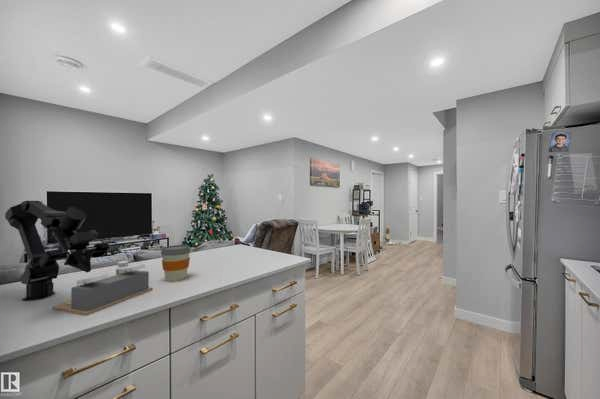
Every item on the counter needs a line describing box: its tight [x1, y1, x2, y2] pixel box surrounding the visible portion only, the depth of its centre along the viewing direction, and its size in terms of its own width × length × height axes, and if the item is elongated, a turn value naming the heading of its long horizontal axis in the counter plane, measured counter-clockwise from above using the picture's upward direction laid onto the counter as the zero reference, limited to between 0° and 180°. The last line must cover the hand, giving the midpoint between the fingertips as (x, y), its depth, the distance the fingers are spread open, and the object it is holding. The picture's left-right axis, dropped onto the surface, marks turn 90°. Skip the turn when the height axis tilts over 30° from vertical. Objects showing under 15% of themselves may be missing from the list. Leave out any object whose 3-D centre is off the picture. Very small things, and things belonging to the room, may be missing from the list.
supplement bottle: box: [115, 260, 131, 275], centre depth 109 cm, size 5×5×10 cm
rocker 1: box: [76, 273, 110, 286], centre depth 83 cm, size 8×5×2 cm, turn 73°
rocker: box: [118, 263, 146, 273], centre depth 96 cm, size 8×5×2 cm, turn 73°
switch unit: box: [51, 269, 153, 316], centre depth 91 cm, size 17×24×8 cm
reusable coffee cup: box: [161, 244, 191, 282], centre depth 115 cm, size 13×13×15 cm
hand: (89, 271), depth 84 cm, fingers closed
